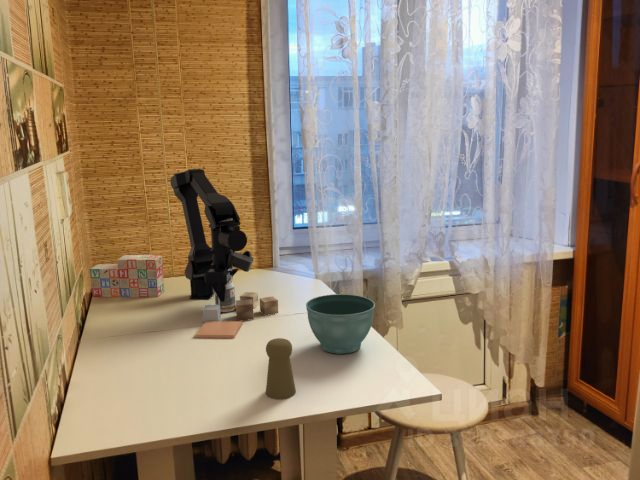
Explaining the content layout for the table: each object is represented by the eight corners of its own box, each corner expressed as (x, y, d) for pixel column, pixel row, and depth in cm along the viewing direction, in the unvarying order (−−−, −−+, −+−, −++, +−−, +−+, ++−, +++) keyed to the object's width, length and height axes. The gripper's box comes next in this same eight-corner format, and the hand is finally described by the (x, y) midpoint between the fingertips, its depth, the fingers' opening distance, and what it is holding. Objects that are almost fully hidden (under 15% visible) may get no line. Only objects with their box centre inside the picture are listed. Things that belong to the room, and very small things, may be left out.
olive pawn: (265, 386, 121) (263, 335, 118) (295, 384, 121) (293, 334, 119) (265, 400, 115) (263, 347, 112) (296, 398, 115) (294, 345, 113)
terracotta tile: (195, 337, 148) (195, 334, 148) (206, 324, 158) (205, 321, 158) (234, 338, 148) (234, 335, 147) (242, 324, 157) (242, 321, 157)
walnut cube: (237, 321, 160) (236, 305, 159) (236, 315, 164) (235, 300, 164) (253, 319, 161) (253, 304, 160) (252, 314, 165) (252, 299, 164)
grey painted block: (203, 324, 158) (202, 309, 158) (206, 319, 162) (205, 305, 162) (218, 323, 159) (217, 309, 158) (220, 318, 162) (219, 304, 162)
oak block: (265, 315, 164) (264, 302, 163) (260, 311, 168) (259, 298, 167) (278, 313, 166) (277, 300, 165) (273, 309, 169) (272, 296, 168)
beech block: (240, 309, 170) (239, 296, 169) (245, 305, 174) (245, 292, 173) (253, 310, 169) (253, 296, 168) (258, 305, 173) (257, 292, 172)
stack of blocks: (92, 297, 185) (88, 259, 182) (100, 291, 191) (96, 254, 189) (158, 297, 183) (155, 259, 181) (165, 291, 190) (162, 254, 187)
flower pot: (339, 330, 152) (339, 289, 149) (388, 346, 140) (389, 302, 138) (293, 347, 141) (291, 304, 138) (342, 366, 129) (341, 320, 127)
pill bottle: (239, 307, 171) (237, 274, 169) (229, 313, 166) (228, 279, 164) (221, 306, 173) (219, 273, 171) (212, 312, 168) (209, 278, 166)
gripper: (243, 252, 156) (246, 308, 159) (256, 238, 174) (258, 288, 177) (202, 252, 157) (205, 308, 160) (219, 238, 175) (222, 288, 178)
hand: (225, 298), depth 169 cm, fingers closed on pill bottle, 6 cm apart
